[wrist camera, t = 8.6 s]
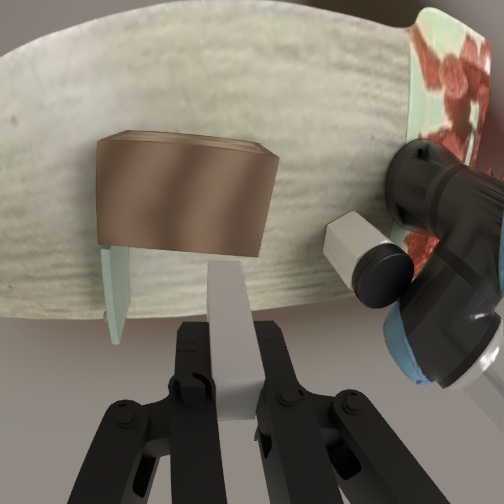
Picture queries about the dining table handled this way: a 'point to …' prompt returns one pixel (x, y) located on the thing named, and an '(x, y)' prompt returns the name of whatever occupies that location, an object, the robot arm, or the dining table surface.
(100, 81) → the dining table surface
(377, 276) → the jar
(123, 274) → the door
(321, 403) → the robot arm
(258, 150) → the case
